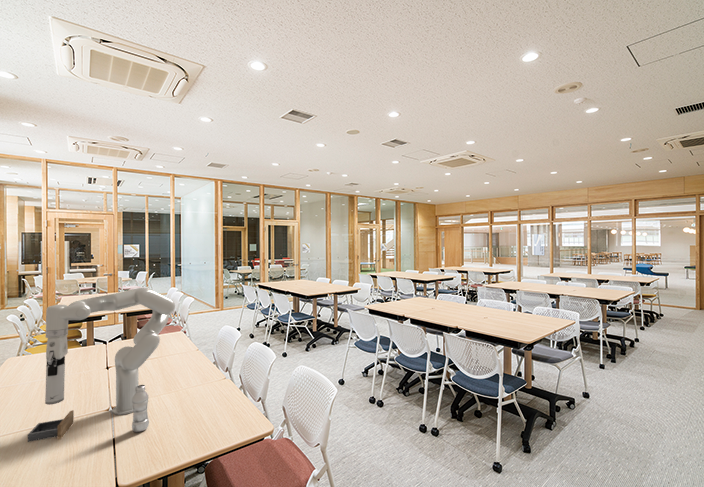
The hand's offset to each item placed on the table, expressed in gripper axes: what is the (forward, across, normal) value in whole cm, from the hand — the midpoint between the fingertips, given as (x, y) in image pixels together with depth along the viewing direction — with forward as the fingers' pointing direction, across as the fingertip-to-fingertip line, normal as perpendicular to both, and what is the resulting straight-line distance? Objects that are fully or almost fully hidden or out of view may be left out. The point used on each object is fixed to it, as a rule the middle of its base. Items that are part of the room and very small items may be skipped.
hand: (55, 372), depth 148 cm
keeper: (+27, +1, +2) cm, 27 cm away
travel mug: (+13, 0, 0) cm, 13 cm away
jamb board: (+27, 0, -4) cm, 27 cm away
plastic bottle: (+27, -14, -35) cm, 46 cm away
